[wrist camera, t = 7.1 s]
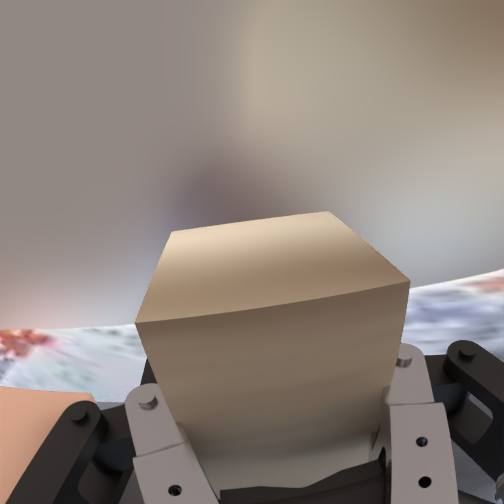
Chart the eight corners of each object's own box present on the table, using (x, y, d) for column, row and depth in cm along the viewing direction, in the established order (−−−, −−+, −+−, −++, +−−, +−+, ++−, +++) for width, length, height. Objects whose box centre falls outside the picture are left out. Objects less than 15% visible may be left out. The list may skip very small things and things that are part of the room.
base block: (25, 431, 15) (-8, 385, 13) (121, 442, 15) (90, 393, 14) (-8, 518, 7) (-58, 476, 6) (102, 556, 8) (50, 525, 6)
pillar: (222, 430, 14) (171, 231, 10) (324, 413, 14) (328, 211, 10) (228, 519, 9) (134, 323, 5) (353, 497, 9) (410, 280, 5)
